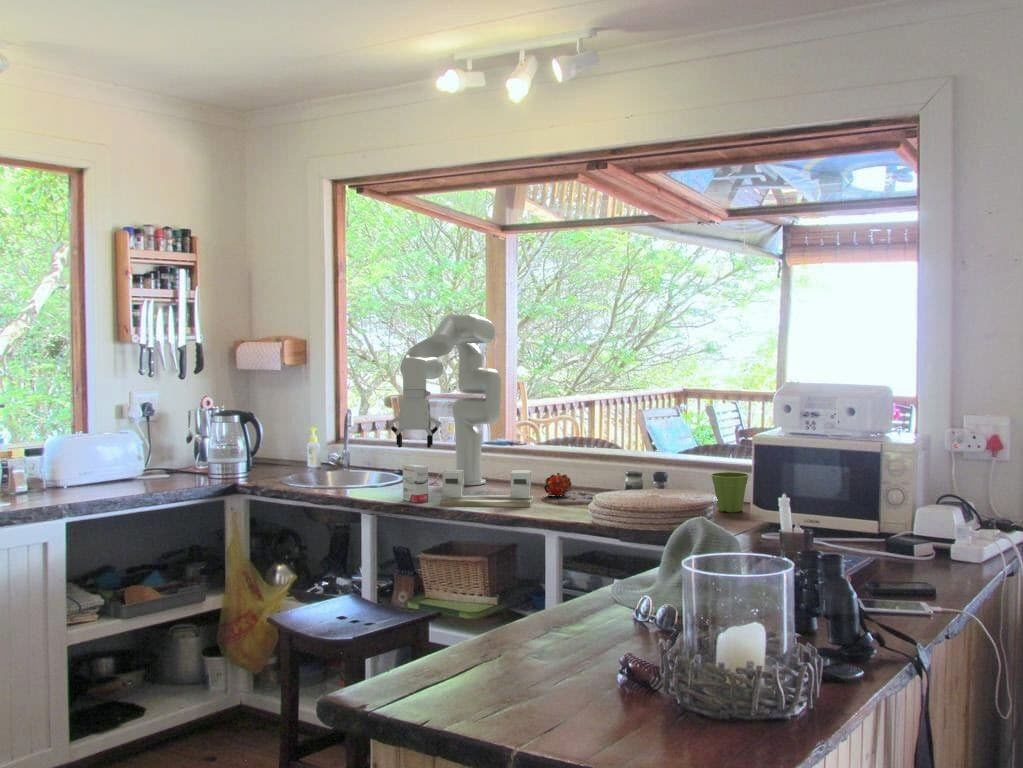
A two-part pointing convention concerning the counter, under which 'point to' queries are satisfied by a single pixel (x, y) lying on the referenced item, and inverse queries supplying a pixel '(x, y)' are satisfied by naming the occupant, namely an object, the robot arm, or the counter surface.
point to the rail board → (456, 497)
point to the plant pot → (730, 490)
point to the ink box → (415, 483)
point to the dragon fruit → (557, 484)
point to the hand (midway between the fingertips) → (414, 447)
